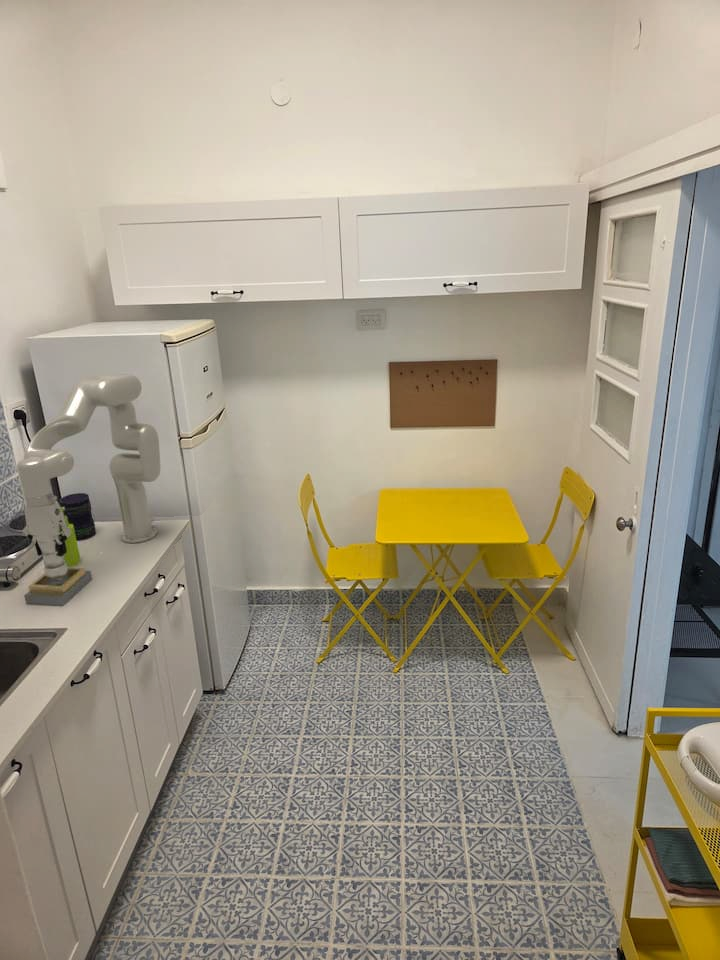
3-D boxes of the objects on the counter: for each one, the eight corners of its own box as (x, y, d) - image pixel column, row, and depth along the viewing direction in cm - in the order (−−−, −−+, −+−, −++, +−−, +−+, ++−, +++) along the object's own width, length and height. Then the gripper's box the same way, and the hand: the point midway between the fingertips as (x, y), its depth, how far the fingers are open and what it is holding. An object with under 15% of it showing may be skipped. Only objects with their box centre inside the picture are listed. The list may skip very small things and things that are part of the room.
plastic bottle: (61, 584, 188) (47, 524, 181) (41, 583, 190) (26, 523, 183) (74, 574, 194) (61, 515, 187) (55, 572, 196) (41, 514, 188)
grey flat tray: (57, 577, 202) (54, 563, 200) (92, 579, 200) (89, 565, 198) (26, 604, 187) (22, 589, 185) (63, 605, 185) (59, 591, 183)
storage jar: (101, 530, 235) (94, 493, 230) (85, 542, 226) (77, 503, 221) (78, 528, 237) (71, 492, 232) (61, 540, 228) (53, 502, 223)
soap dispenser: (58, 561, 212) (46, 507, 205) (80, 557, 215) (69, 503, 208) (58, 568, 207) (45, 513, 200) (80, 564, 210) (69, 509, 203)
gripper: (74, 495, 185) (85, 549, 191) (20, 493, 187) (34, 547, 194) (59, 505, 178) (71, 561, 184) (4, 503, 180) (18, 558, 187)
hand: (52, 553), depth 189 cm, fingers closed on plastic bottle, 6 cm apart
